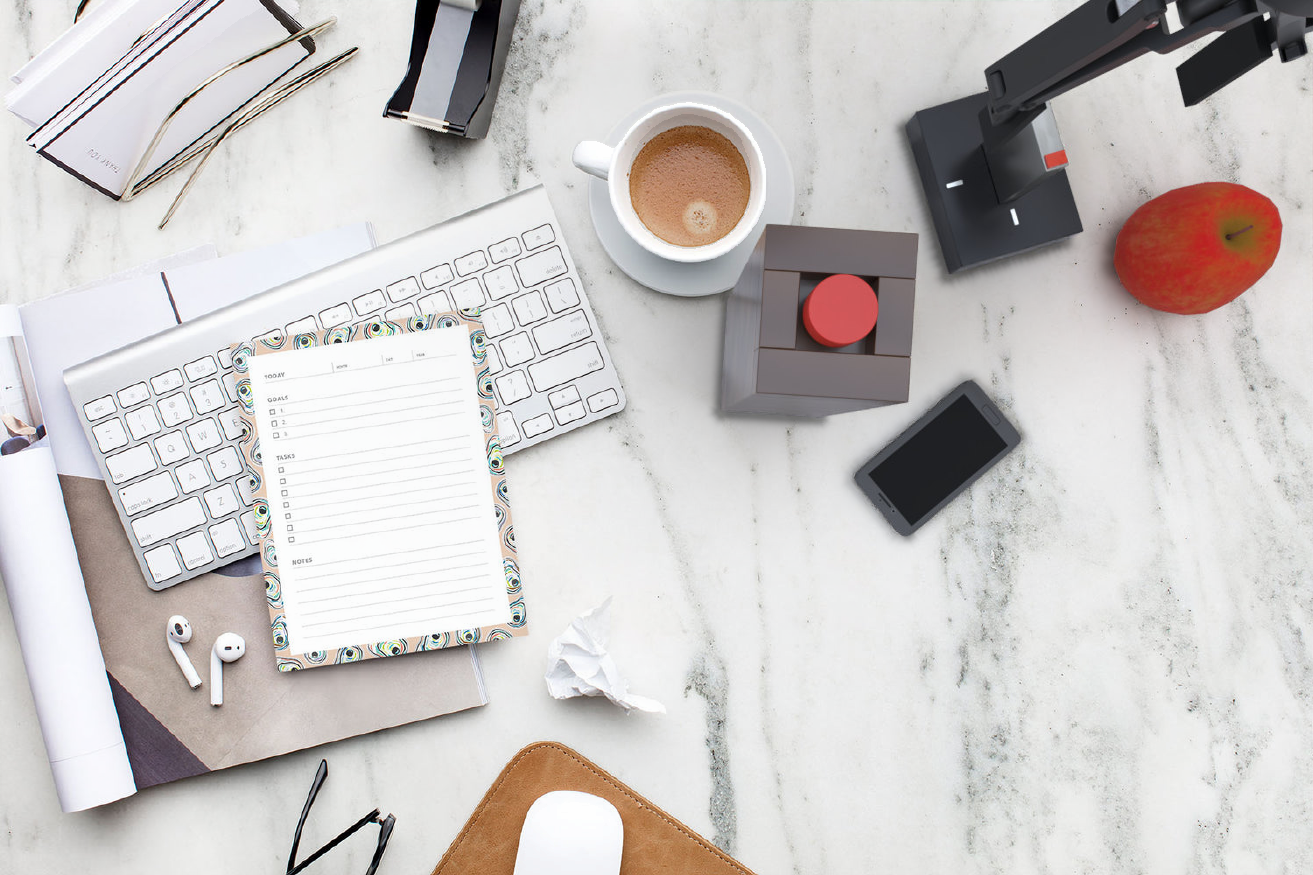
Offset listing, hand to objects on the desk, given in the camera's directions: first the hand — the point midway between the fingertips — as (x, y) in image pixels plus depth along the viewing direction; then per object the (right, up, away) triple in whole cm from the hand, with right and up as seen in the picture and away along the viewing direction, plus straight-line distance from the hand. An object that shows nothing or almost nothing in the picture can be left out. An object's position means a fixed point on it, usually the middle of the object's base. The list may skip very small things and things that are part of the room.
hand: (1086, 110), depth 52 cm
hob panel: (+1, +1, +18) cm, 18 cm away
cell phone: (-4, -24, +18) cm, 30 cm away
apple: (+17, -6, +18) cm, 25 cm away
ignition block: (-18, -15, +18) cm, 29 cm away
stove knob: (+1, +1, +15) cm, 15 cm away
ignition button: (-18, -15, -6) cm, 24 cm away
